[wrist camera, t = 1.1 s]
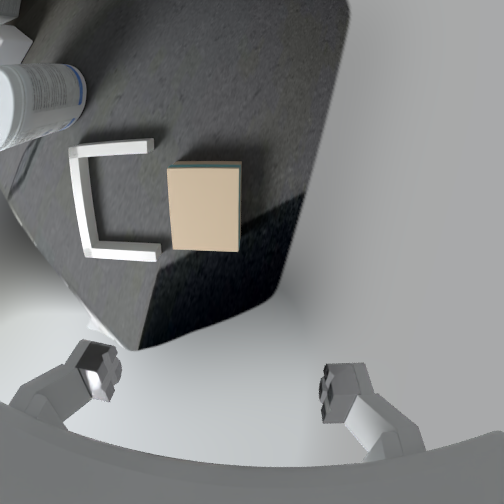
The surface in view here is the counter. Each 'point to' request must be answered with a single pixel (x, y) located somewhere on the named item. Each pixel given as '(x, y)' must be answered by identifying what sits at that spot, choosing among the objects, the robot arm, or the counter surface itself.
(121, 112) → the counter surface
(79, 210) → the frame
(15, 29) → the medicine bottle
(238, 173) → the carton
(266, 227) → the counter surface
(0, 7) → the skincare box
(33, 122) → the supplement tub
